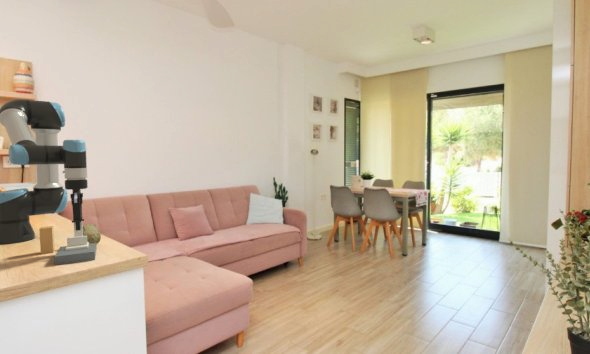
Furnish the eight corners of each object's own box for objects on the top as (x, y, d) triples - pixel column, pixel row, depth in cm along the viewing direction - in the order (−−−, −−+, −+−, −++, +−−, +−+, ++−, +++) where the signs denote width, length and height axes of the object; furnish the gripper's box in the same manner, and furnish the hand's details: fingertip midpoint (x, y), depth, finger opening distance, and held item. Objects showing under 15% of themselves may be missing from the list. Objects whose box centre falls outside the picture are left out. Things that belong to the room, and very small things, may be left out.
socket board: (60, 254, 130) (60, 246, 130) (96, 250, 136) (96, 242, 136) (54, 264, 117) (54, 256, 117) (94, 259, 123) (94, 251, 123)
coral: (109, 227, 147) (89, 222, 139) (100, 250, 144) (79, 246, 136) (94, 224, 151) (74, 219, 142) (85, 246, 148) (64, 242, 139)
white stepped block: (67, 246, 131) (67, 236, 130) (88, 244, 134) (88, 234, 134) (65, 250, 125) (65, 240, 124) (87, 248, 128) (87, 237, 128)
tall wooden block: (42, 251, 135) (41, 226, 134) (54, 250, 137) (53, 225, 136) (40, 254, 132) (39, 228, 131) (53, 252, 133) (51, 227, 133)
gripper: (66, 178, 137) (69, 235, 138) (62, 180, 126) (65, 242, 127) (88, 177, 141) (90, 233, 142) (86, 179, 129) (88, 240, 130)
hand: (78, 237), depth 134 cm, fingers closed
